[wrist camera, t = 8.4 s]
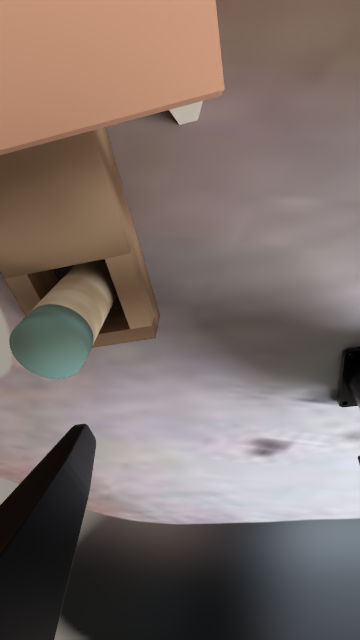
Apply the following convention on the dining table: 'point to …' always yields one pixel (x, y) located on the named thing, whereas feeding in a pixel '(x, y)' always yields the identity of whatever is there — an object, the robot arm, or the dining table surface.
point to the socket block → (73, 229)
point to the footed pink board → (102, 65)
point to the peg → (65, 322)
